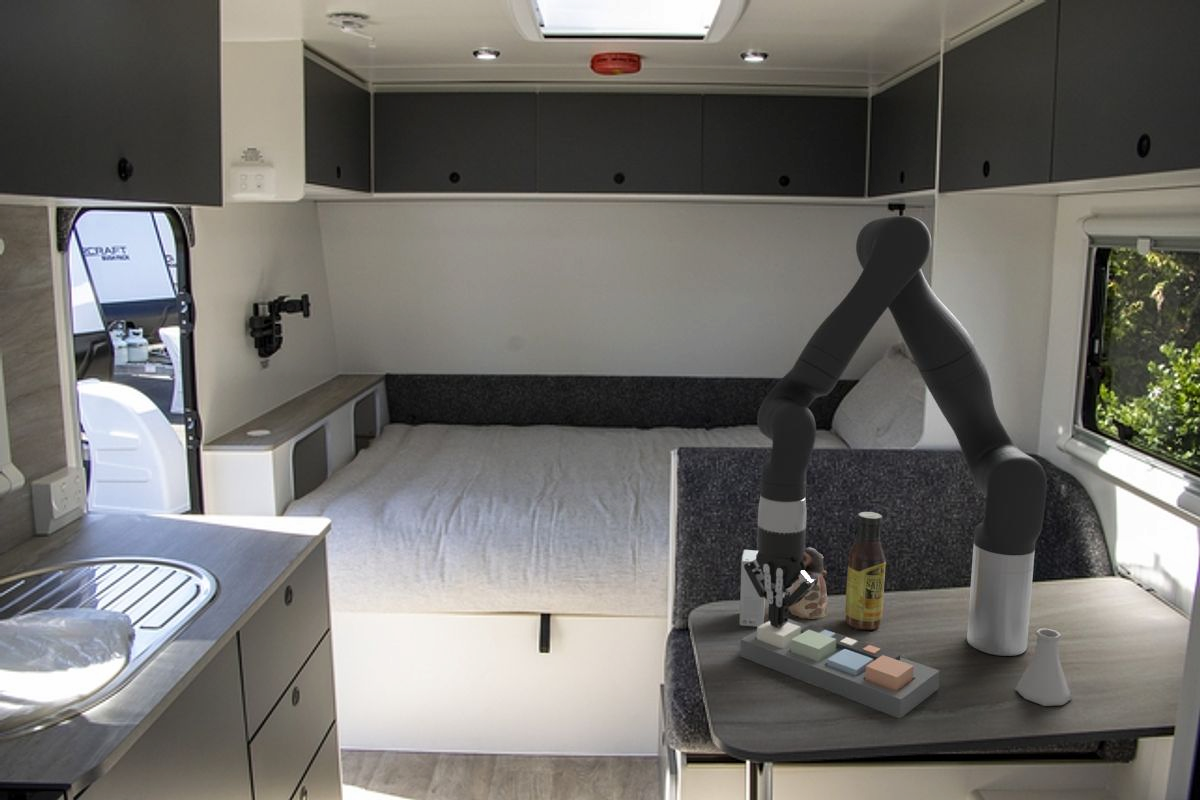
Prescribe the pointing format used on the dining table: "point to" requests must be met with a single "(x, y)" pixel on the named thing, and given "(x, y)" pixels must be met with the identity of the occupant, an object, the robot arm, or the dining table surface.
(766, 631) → the key cream
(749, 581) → the skincare box
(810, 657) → the key sage
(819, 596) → the figurine
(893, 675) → the block
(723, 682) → the dining table surface
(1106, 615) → the dining table surface
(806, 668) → the keypad board
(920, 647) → the dining table surface
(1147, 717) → the dining table surface
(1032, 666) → the flask
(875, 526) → the sauce bottle
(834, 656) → the key blue
